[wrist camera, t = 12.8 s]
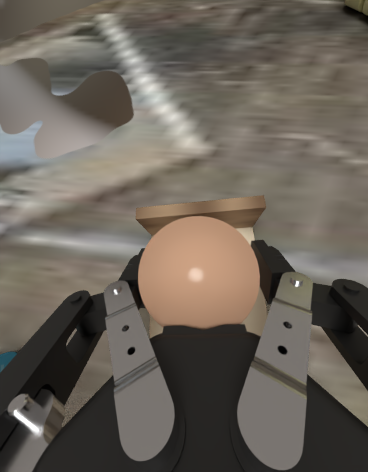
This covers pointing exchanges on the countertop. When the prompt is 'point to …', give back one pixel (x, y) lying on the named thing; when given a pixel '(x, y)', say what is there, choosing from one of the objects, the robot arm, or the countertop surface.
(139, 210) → the wooden l-shaped stand
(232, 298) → the peach dome-topped cylinder
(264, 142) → the countertop surface
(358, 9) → the slatted curved stool
